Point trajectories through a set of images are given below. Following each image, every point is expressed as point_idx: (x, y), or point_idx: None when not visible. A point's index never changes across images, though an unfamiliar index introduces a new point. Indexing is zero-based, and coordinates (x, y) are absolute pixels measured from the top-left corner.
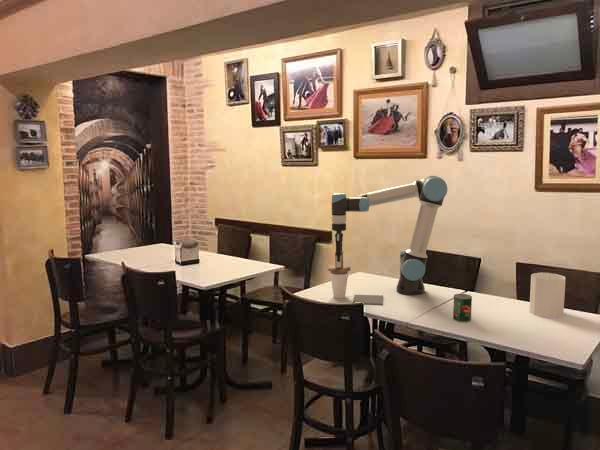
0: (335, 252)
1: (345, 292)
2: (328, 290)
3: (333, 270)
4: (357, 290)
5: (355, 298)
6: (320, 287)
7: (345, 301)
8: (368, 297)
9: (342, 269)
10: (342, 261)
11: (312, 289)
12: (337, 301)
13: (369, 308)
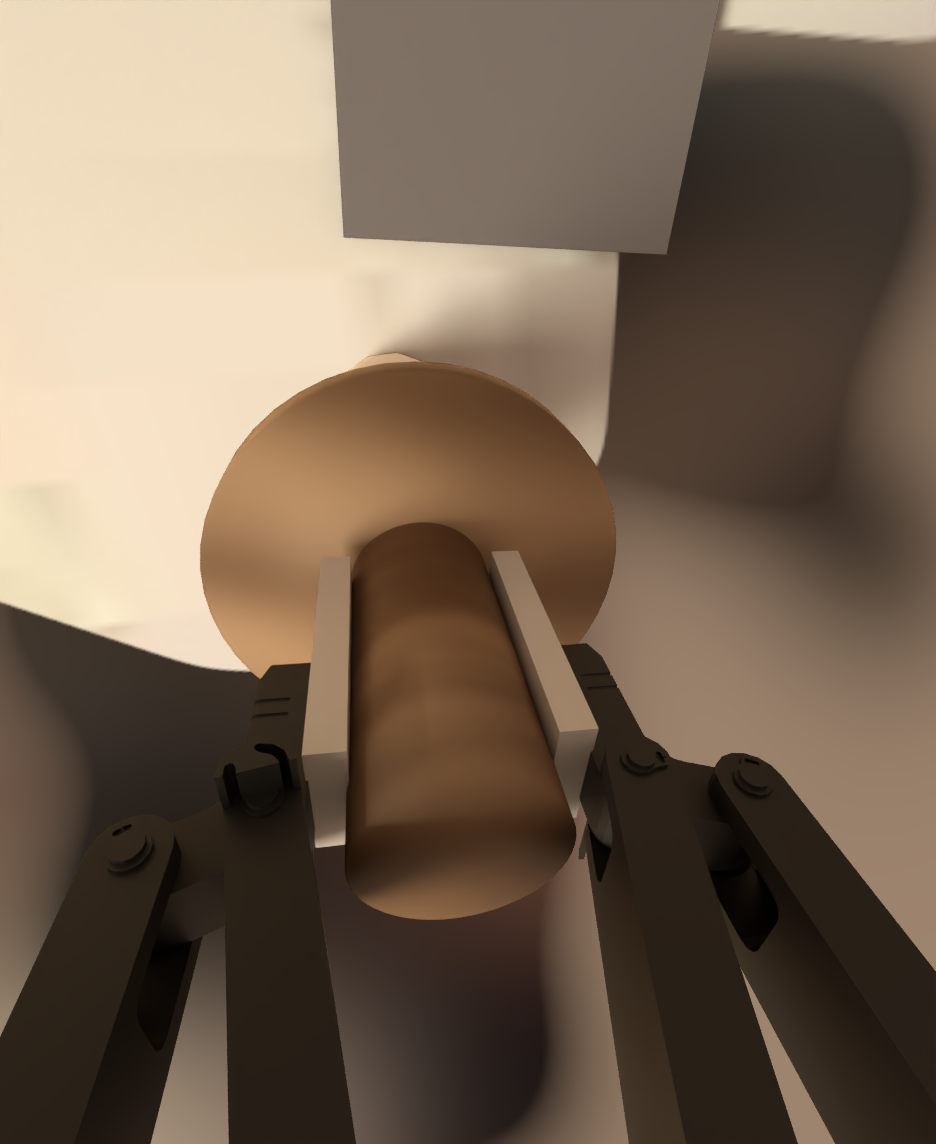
0: (504, 899)
1: (408, 359)
2: (198, 540)
3: (579, 631)
4: (73, 192)
5: (509, 221)
6: (112, 620)
7: (569, 338)
8: (457, 9)
9: (560, 515)
10: (468, 600)
11: (209, 665)
12: (566, 418)
13: (851, 27)
